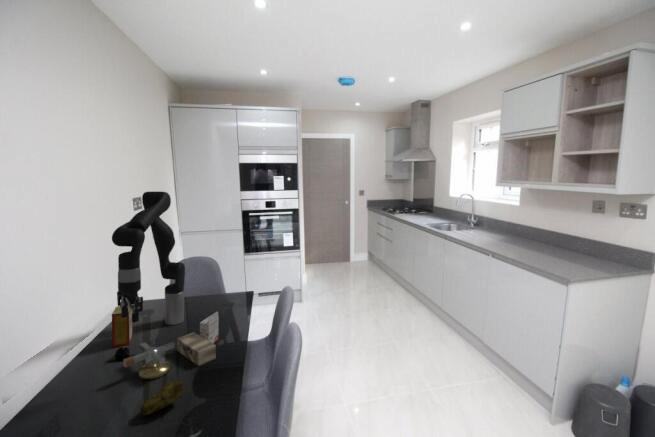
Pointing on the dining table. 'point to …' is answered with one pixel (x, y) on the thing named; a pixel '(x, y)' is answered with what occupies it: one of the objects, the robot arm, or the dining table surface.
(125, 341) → the baking soda box
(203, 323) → the ink cartridge box
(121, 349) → the black angular block
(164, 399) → the potato
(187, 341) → the cardboard box
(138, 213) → the robot arm
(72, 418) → the dining table surface
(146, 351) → the capstan
